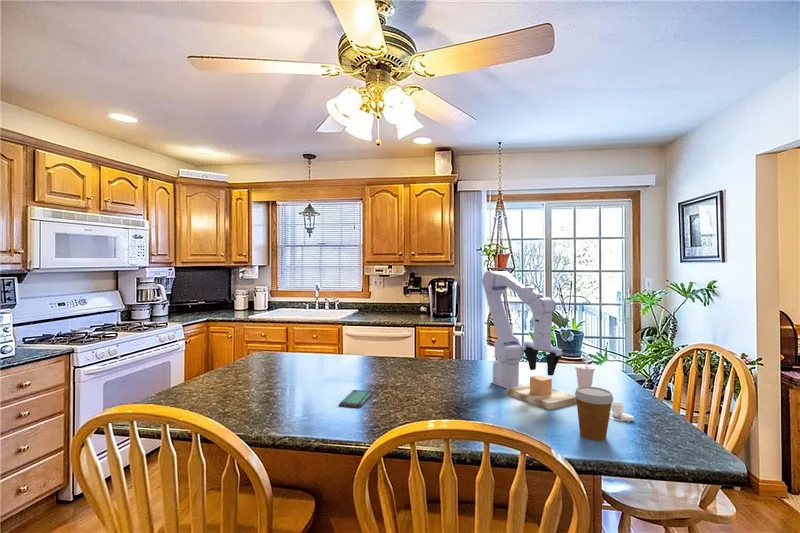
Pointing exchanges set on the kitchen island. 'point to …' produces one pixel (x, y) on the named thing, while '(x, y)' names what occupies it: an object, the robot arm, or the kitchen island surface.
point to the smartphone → (356, 399)
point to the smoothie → (584, 374)
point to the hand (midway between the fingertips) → (541, 372)
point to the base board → (542, 397)
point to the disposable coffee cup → (593, 411)
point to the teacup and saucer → (620, 412)
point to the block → (540, 385)
